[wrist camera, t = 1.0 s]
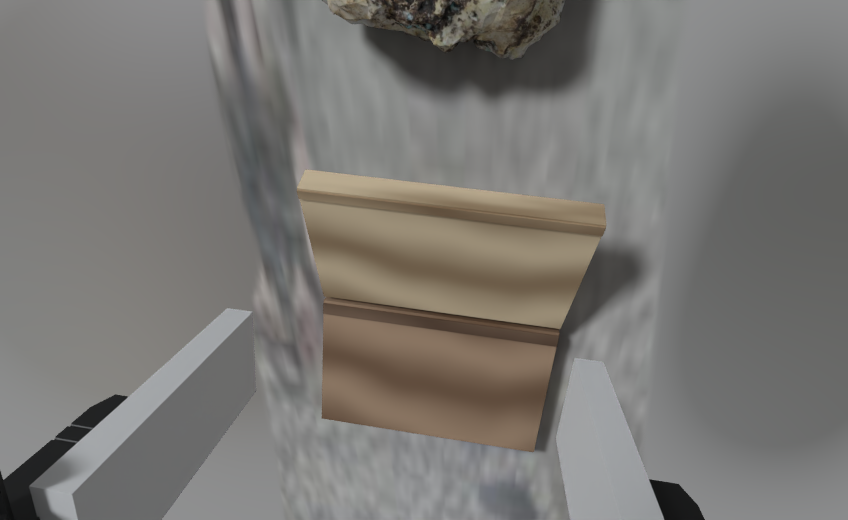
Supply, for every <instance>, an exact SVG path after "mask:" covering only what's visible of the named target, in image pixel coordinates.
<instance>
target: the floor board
mask: <svg viewBox="0 0 848 520" xmlns="http://www.w3.org/2000/svg"><path fill="white" fill-rule="evenodd" d="M323 314H324V325H323V381H322V418H323V419H329V420H336V421H342V422H348V423H354V424H361V425H367V426H373V427H379V428H386V429H392V430H398V431H404V432H411V433H417V434H423V435H429V436H435V437H442V438H448V439H454V440H460V441H467V442H473V443H479V444H485V445H492V446H498V447H504V448H510V449H517V450H523V451H529V452H534V448H535V444H536V439H537V435H538V430H539V425H540V421H541V416H542V412H543V407H544V402H545V398H546V393H547V388H548V384H549V379H550V375H551V370H552V365H553V361H554V356H555V352H556V347H557V344H558V339H559V329H556V328H549V327H542V326H534V325H527V324H520V323H513V322H506V321H498V320H491V319H484V318H477V317H470V316H462V315H455V314H448V313H441V312H434V311H426V310H419V309H412V308H405V307H398V306H390V305H383V304H376V303H369V302H362V301H354V300H347V299H340V298H333V297H326V298H325V299H324V303H323Z"/></svg>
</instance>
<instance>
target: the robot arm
mask: <svg viewBox="0 0 848 520" xmlns="http://www.w3.org/2000/svg"><path fill="white" fill-rule="evenodd" d="M255 392H256V377H255V353H254V329H253V312H250V311H243V310H236V309H229V308H227V309H226V310H225V311H224V312H223V313H222V314H220V315H219V316H218V317H217V318H216V319H215V320H214V321H213V322H211V323H210V325H208V326H207V327H206V328H205V329H204V330H203V331H201V332H200V333H199V334H198V335H197V336H196V337H195V338H194V339H193V340H191V341H190V342H189V343H188V344H187V345H186V346H185V347H184V348H183V349H181V350H180V351H179V352H178V353H177V354H176V355H175V356H174V357H173V358H171V359H170V360H169V361H168V362H167V363H166V364H165V365H164V366H162V367H161V368H160V369H159V370H158V371H157V372H156V373H155V374H154V375H152V376H151V377H150V378H149V379H148V380H147V381H146V382H145V383H143V385H141V386H140V387H139V388H138V389H137V390H136V391H135V392H133V394H131V395H130V396H129V397H127V396H121V395H114V396H112V397H110V398H108V399H106V400H104V401H102V402H100V403H98V404H96V405H94V406H92V407H90V408H89V409H88V410H87V411H86V412H84V413H83V414H82V415H81V416H79V417H78V418H77V419H76V420H75V421H74V422H72V424H71V426H70V427H66V428H65V429H64V430H63V431H62V432H61V433H59V434H58V435H57V436H56V438H55V440H51V441H50V442H49V443H47V444H46V445H45V446H44V447H42V448H41V449H40V450H39V451H38V452H37V453H35V454H34V455H33V456H32V457H31V458H29V459H28V460H27V461H26V462H25V463H24V464H22V465H21V466H20V467H19V468H17V469H16V470H15V471H14V472H13V473H12V474H10V475H9V476H8V477H7V478H6V479H4V480H3V479H2V475H1V472H0V520H162V518H163V517H164V515H165V514H166V513H167V512H168V510H169V509H170V508H171V506H172V505H173V503H174V502H175V501H176V499H177V498H178V497H179V495H180V494H181V493H182V491H183V490H184V488H185V487H186V486H187V484H188V483H189V482H190V480H191V479H192V477H193V476H194V475H195V473H196V472H197V471H198V469H199V468H200V467H201V465H202V464H203V463H204V461H205V460H206V459H207V457H208V456H209V454H210V453H211V452H212V450H213V449H214V447H215V446H216V445H217V444H218V442H219V441H220V439H221V438H222V437H223V435H224V434H225V433H226V431H227V430H228V428H229V427H230V426H231V425H232V423H233V422H234V420H235V419H236V418H237V416H238V415H239V414H240V412H241V411H242V410H243V408H244V407H245V405H246V404H247V403H248V401H249V400H250V399H251V397H252V396H253V395H254V393H255ZM556 442H557V448H558V453H559V459H560V465H561V470H562V476H563V482H564V487H565V493H566V498H567V504H568V510H569V515H570V520H705V519H704V517H703V515H702V513H701V511H700V509H699V507H698V505H697V504H696V503H695V502H694V501H693V499H692V498H691V497H690V496H689V495H688V494H687V493H686V492H685V491H684V490H683V489H682V488H681V486H680V485H679V484H675V483H669V482H662V481H656V480H650V479H648V476H647V473H646V471H645V468H644V466H643V463H642V461H641V458H640V455H639V453H638V450H637V448H636V445H635V443H634V440H633V437H632V435H631V432H630V430H629V427H628V425H627V422H626V419H625V417H624V414H623V412H622V409H621V406H620V404H619V401H618V399H617V396H616V394H615V391H614V388H613V386H612V383H611V381H610V378H609V376H608V373H607V370H606V368H605V365H604V363H603V362H600V361H593V360H586V359H579V358H574V363H573V367H572V371H571V375H570V380H569V384H568V388H567V393H566V397H565V401H564V405H563V410H562V414H561V418H560V422H559V427H558V431H557V435H556Z"/></svg>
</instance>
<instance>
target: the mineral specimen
mask: <svg viewBox="0 0 848 520" xmlns="http://www.w3.org/2000/svg"><path fill="white" fill-rule="evenodd" d="M322 1H323V2H325V3H326V4H327V5H328V6H329V8H330V11H331V12H332V13H333V14H336V15H338V16H340V17H342V18H343V19H345V20H346V21H348V22H349V23H351V24H364V25H365V26H369V27H375V28H381V29H388V30H394V31H396V30H398V31H404V32H405V33H406V34H408V35H412V36H418V37H420V38H421V39H423V40H424V41H428V40H431V41H432V42H433V45H435V46H437V47H438V48H439V49H440V50H441V51H443V52H444V53H447V52H450V51H452V50H453V49H454V48H455V47H456V46H457V45H458V42H459V41H461V42H469V41H470V40H472V39H474V43H475V45H476V47H478V48H480V49H482V50H485V51H491V52H493V53H494V54H496V55H497V56H498V57H500V58H501V59H502V58H506V57H509V58H510V59H511V60H512V59H515V58H522V57H523V55H524V53H525V52H526V50H527V48H528V46H530V45H532V44H533V43H535V42H538V41H540V40H541V38H542V37H543V35H544V34H545V33H546V32H548V31H549V30H550V29H552V28H553V27H554V26H555V25H556V24H558V23H559V22H560V18H561V12H562V9H563V6H564V3H565V0H322Z"/></svg>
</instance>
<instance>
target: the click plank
mask: <svg viewBox="0 0 848 520" xmlns="http://www.w3.org/2000/svg"><path fill="white" fill-rule="evenodd" d="M297 194H298V198H299V199H300V202H301V206H302V210H303V214H304V218H305V222H306V226H307V230H308V234H309V238H310V242H311V246H312V250H313V254H314V258H315V262H316V266H317V270H318V274H319V278H320V282H321V286H322V290H323V294H324V296H326V297H333V298H340V299H347V300H354V301H362V302H369V303H376V304H383V305H390V306H398V307H405V308H412V309H419V310H426V311H434V312H441V313H448V314H455V315H462V316H470V317H477V318H484V319H491V320H498V321H506V322H513V323H520V324H527V325H534V326H542V327H549V328H556V329H561V327H562V324H563V322H564V320H565V318H566V315H567V313H568V311H569V309H570V306H571V304H572V302H573V300H574V297H575V295H576V293H577V290H578V288H579V286H580V284H581V281H582V279H583V277H584V275H585V272H586V270H587V268H588V266H589V263H590V261H591V259H592V257H593V254H594V252H595V250H596V248H597V245H598V243H599V241H600V239H601V236H603V234H604V231H605V229H606V217H605V207H604V204H597V203H588V202H579V201H571V200H562V199H554V198H545V197H537V196H528V195H520V194H511V193H502V192H494V191H485V190H477V189H468V188H460V187H451V186H443V185H434V184H425V183H417V182H408V181H400V180H391V179H383V178H374V177H366V176H357V175H348V174H340V173H331V172H323V171H314V170H305V172H304V174H303V176H302V178H301V180H300V183H299V185H298V187H297Z"/></svg>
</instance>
